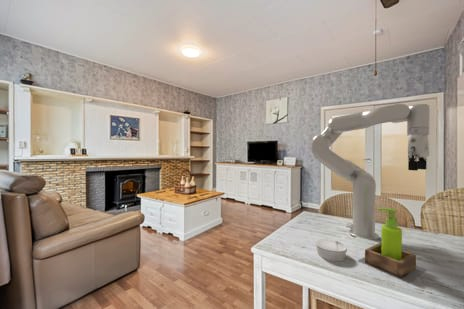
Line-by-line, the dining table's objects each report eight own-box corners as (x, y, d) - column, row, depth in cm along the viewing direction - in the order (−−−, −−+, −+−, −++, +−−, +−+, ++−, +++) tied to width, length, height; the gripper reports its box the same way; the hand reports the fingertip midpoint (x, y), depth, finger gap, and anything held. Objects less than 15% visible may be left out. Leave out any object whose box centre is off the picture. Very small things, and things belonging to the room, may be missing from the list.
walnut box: (364, 262, 79) (365, 249, 79) (380, 255, 85) (380, 242, 84) (401, 278, 69) (401, 263, 69) (415, 268, 75) (416, 254, 75)
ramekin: (353, 263, 81) (353, 249, 80) (327, 266, 78) (327, 252, 78) (333, 249, 92) (333, 237, 91) (310, 252, 89) (310, 240, 89)
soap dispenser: (379, 257, 81) (380, 205, 81) (402, 263, 76) (403, 209, 76) (376, 262, 77) (376, 208, 77) (400, 270, 72) (400, 212, 72)
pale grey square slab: (357, 263, 80) (357, 260, 80) (377, 253, 88) (377, 251, 88) (409, 286, 67) (409, 283, 67) (427, 272, 74) (427, 269, 74)
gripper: (420, 130, 88) (420, 171, 88) (435, 132, 97) (435, 169, 97) (399, 131, 94) (398, 170, 94) (415, 133, 103) (414, 168, 103)
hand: (417, 169), depth 96 cm, fingers open, 9 cm apart
